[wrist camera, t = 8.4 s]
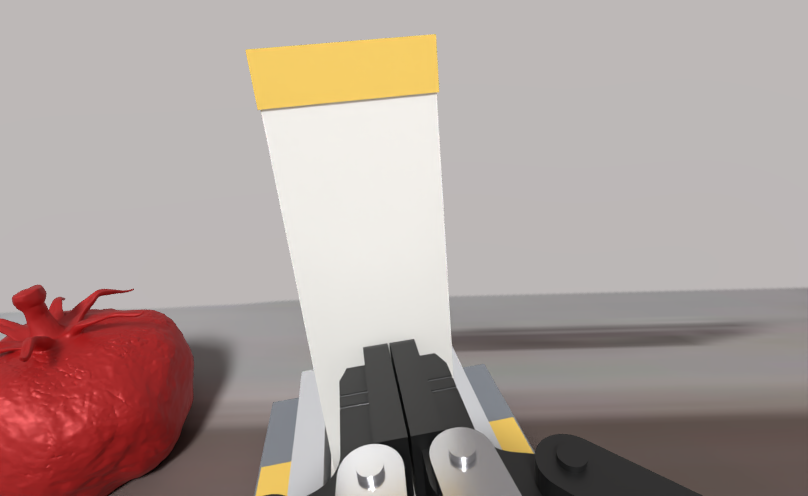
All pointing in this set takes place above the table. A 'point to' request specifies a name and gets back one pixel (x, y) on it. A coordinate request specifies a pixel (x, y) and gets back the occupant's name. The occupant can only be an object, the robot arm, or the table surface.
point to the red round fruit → (88, 395)
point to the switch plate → (309, 447)
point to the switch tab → (359, 198)
